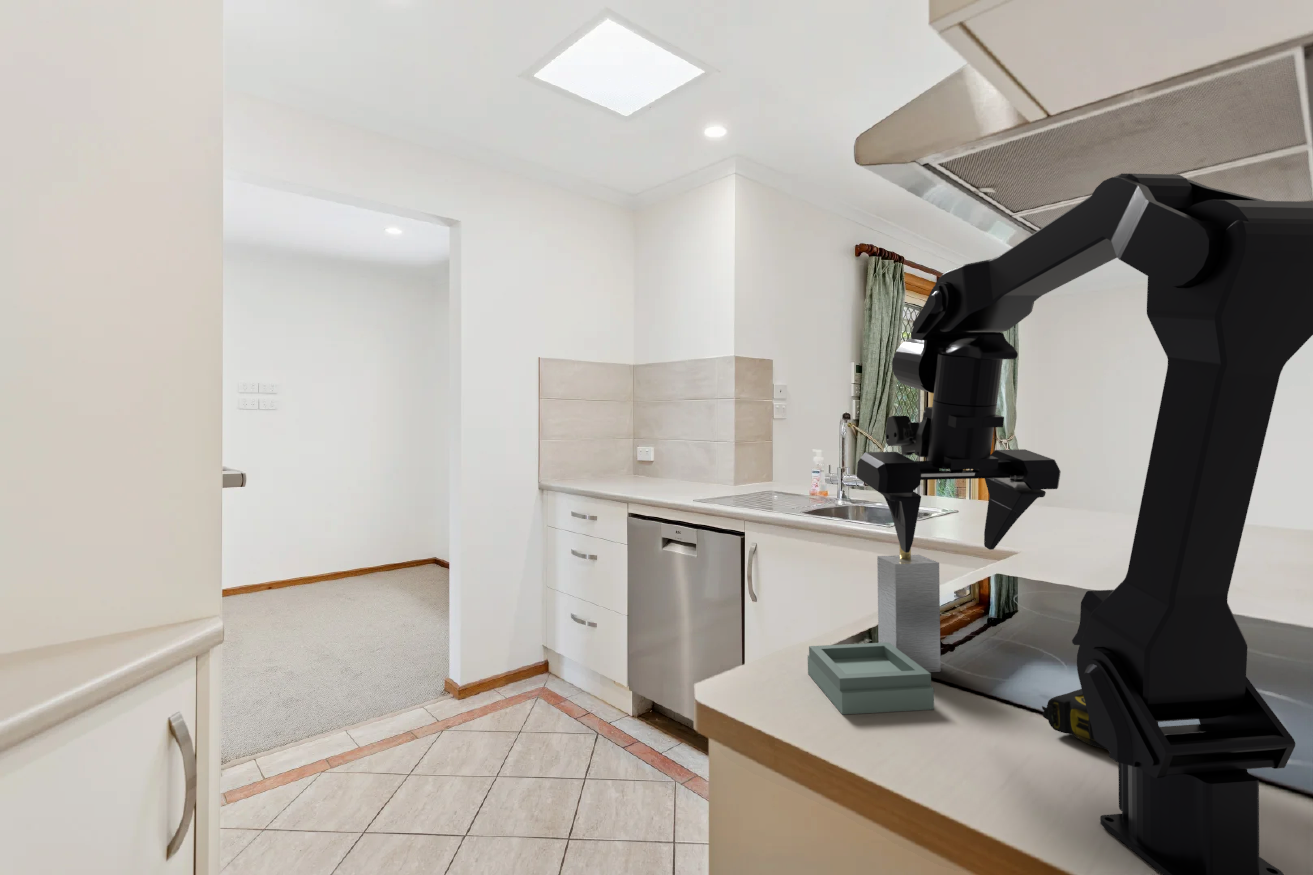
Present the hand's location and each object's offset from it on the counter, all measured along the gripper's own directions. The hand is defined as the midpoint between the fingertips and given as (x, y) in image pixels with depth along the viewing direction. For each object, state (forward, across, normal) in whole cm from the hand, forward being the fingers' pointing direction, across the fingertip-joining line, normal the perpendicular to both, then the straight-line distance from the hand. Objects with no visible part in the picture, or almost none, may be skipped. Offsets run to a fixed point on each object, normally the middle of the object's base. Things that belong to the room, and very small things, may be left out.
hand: (947, 549), depth 66 cm
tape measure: (+12, -6, +15) cm, 20 cm away
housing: (+15, +1, -2) cm, 15 cm away
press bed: (+14, +9, +3) cm, 17 cm away
